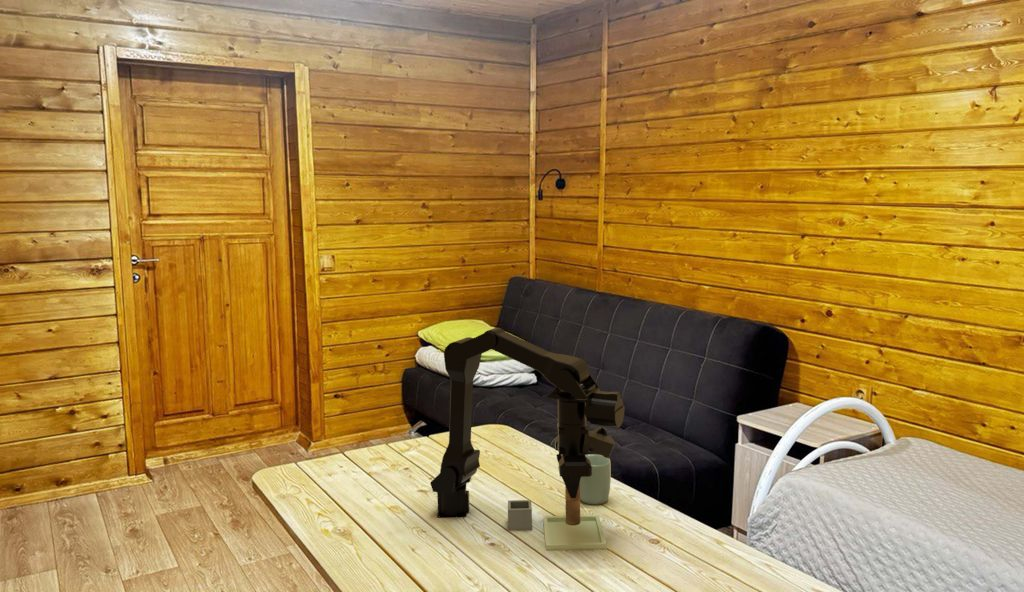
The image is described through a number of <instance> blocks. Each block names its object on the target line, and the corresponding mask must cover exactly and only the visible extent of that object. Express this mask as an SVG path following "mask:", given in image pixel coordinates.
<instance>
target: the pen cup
mask: <svg viewBox="0 0 1024 592" xmlns="http://www.w3.org/2000/svg"><path fill="white" fill-rule="evenodd" d="M532 506H533V505H532V500H531V499H525V500H524V499H523V500H522V499H521V500H520V499H519V500H518V499H515V500H512V499H511V500H507V525H508V526H507V528H508V529H507V530H508V531H512V532H513V531H533V513H532V512H533V507H532Z"/></svg>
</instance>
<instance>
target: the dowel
mask: <svg viewBox="0 0 1024 592" xmlns="http://www.w3.org/2000/svg"><path fill="white" fill-rule="evenodd" d="M564 487H565V492H564V493H565V516H566V524H568V525H578V524H580V516H581V499H580V483H579V487H578V491H577V496H576V498H571V497H570V495H569V493H568V490H567V488H566V486H564Z"/></svg>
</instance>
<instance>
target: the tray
mask: <svg viewBox="0 0 1024 592" xmlns="http://www.w3.org/2000/svg"><path fill="white" fill-rule="evenodd" d="M542 517H543V518H542V521H543V533H544V543H545V551H580V550H587V551H588V550H607V549H608V548H607V541H606V537H605V532H604V530H603V525H602V522H601V518H600V515H599V514H597V515H595V514H590V515H589V514H588V515H587V514H585V515H584V514H583V515H581V514H580V524H578V525H568V524H566V515H543V516H542Z"/></svg>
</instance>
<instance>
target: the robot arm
mask: <svg viewBox="0 0 1024 592" xmlns="http://www.w3.org/2000/svg"><path fill="white" fill-rule="evenodd" d="M491 350H492V351H495V352H497V353H499V354H501V355H503V356H506V357H507V358H510V359H512V360H514V361H516V362H517V363H520V364H522V365H525V366H526V367H529V368H530V369H533V370H535V371H537V372H539V373H540V374H541V375H543V377H544V378H545V379H546V381H547V382H549V383H550V384H552V385H553V386H554V388H553V390H552V392H550V393H549V394H548V395H547V396H546V397H547V399H549V400H557V423H556V424H557V425H556V426H557V435H556V437H555V438H554V448H555V451H558V453H557V454H556V460H557V463H558V472H559V477H561V478H562V481H563V483H564V485H565V486H566V488H567V490H568V493H569V495H570V497H571V498H576V496H577V491H578V487H579V483H580V479H581V477H589V476H592V466H591V462H590V460H589V459H588V458H587V457H586V456H585V455H590V452H591V453H594V454H595V455H602V456H604V457H605V458H609V459H610V458H611V455H612V452H613V451H614V447H615V445H616V443H615V441H614V439H613V437H612V436H611V435H608V433H607V429H606V427H613V428H620V427H621V426H622V424H623V422H624V417H625V410H626V409H625V408H626V407H625V405H624V402H623V399H622V398H621V392H620V391H605V390H604V391H603V390H602V391H601V388H600V386H599V385H598V382H597V381H596V380H595V377H593V375H592V373H590V368H589V365H588V363H587V362H586V361H585V360H584V359H582V358H581V357H576V356H573V355H568V354H564V353H562V354H561V353H556V352H555V353H554V352H551V351H548V350H546V349H544V348H541V347H539V346H537V345H535V344H533V343H532V342H528V341H526V340H525V339H522V338H520V337H519V336H515V335H513V334H511V333H510V332H508V331H505V330H504V329H503V328H501V327H493V328H491V329H488V330H486V331H484V333H482V334H479V335H477V336H475V337H471V336H469V337H468V336H466V337H463V338H462V339H458V340H456V341H453V342H450V343H449V344H448V345H447V346H445V348H444V351H443V359H444V360H443V361H444V366H445V367H444V368H445V371H446V373H447V375H448V376H449V379H450V401H449V402H450V404H449V430H448V431H449V432H448V433H449V435H448V443H447V446H446V450H445V452H444V454H443V455H442V458H441V459H442V460H441V465H440V470H439V474H437V475H436V476H435V477H434V478H433V480H431V481H430V486H431V490H432V492H434V493H436V495H437V496H436V497H437V500H436V501H437V515H436V518H439V519H441V518H442V519H444V518H445V519H448V518H451V519H452V518H467V515H468V513H469V512H470V491H469V490H467V484H468V483H470V482H471V479H472V477H473V476H475V475H476V473H477V471H478V468H480V467H481V465H480V454H481V451H480V449H475V448H474V446H473V444H472V422H473V421H472V420H473V419H472V418H473V417H472V415H473V393H474V390H473V389H474V379H475V376H476V375H477V372H478V369H479V367H480V365H481V360H482V354H484V353H486V352H490V351H491ZM582 386H583V388H582ZM587 422H589V423H590V424H591V425H597V426H598V427H597V428H595V429H594V430H590V429H589V428H588V424H587ZM604 426H605V427H604ZM565 486H564V487H565Z"/></svg>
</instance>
